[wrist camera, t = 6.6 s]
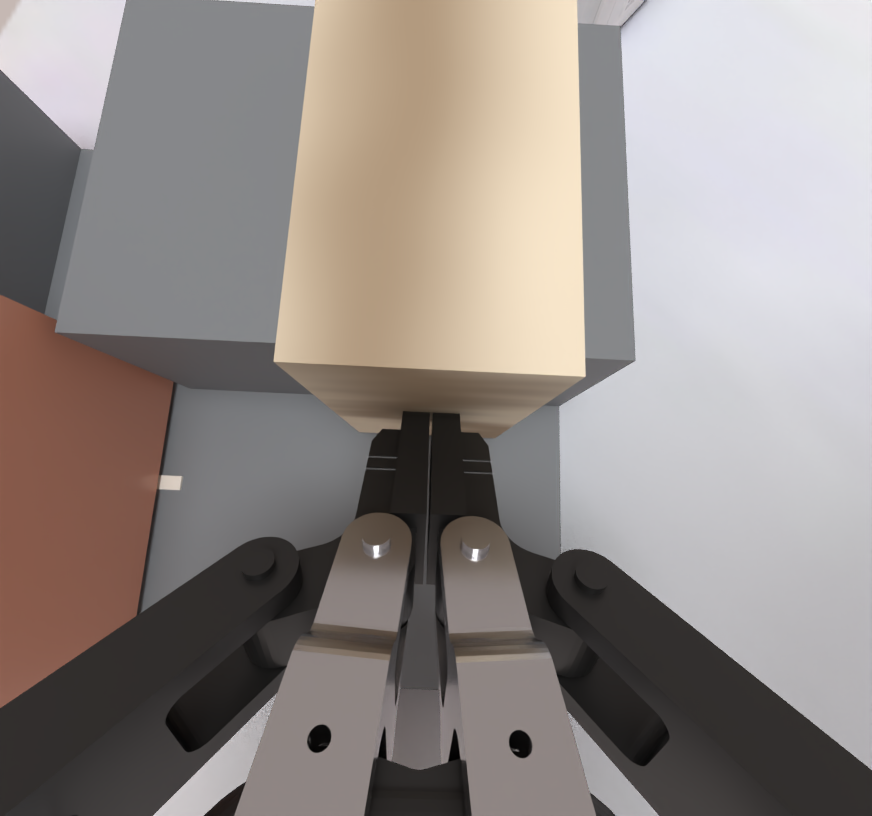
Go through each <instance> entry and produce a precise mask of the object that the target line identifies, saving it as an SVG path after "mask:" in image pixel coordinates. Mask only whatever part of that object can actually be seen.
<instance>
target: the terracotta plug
mask: <svg viewBox="0 0 872 816" xmlns="http://www.w3.org/2000/svg"><path fill="white" fill-rule="evenodd" d="M56 323H57V320H55V319H53V318H51V317H49V316H47V315H44V314H42V313H40V312H38V311H35V310H33V309H31V308H29V307H27V306H24V305H22V304H20V303H18V302H15V301H13V300H11V299H9V298H7V297H4V296H2V295H0V708H1V707H3V706H4V705H6V704H7V703H9V702H10V701H12V700H13V699H15V698H16V697H18V696H19V695H20V694H22V693H23V692H25V691H26V690H28V689H29V688H31V687H32V686H34V685H35V684H37V683H38V682H40V681H41V680H43V679H44V678H46V677H47V676H49V675H50V674H51V673H53V672H54V671H56V670H57V669H59V668H60V667H62V666H63V665H65V664H66V663H68V662H69V661H71V660H72V659H74V658H75V657H77V656H78V655H79V654H81V653H82V652H84V651H85V650H87V649H88V648H90V647H91V646H93V645H94V644H96V643H97V642H99V641H100V640H102V639H103V638H105V637H106V636H108V635H109V634H110V633H112V632H113V631H115V630H116V629H118V628H119V627H121V626H122V625H124V624H125V623H127V622H128V621H130V620H131V619H133V618H134V617H136V615H137V609H138V602H139V596H140V590H141V584H142V577H143V571H144V565H145V558H146V552H147V546H148V540H149V533H150V527H151V521H152V514H153V508H154V502H155V496H156V489H157V483H158V477H159V470H160V464H161V458H162V452H163V445H164V439H165V433H166V426H167V420H168V414H169V408H170V401H171V395H172V389H173V381H171V380H168V379H166V378H163V377H161V376H159V375H156V374H154V373H151V372H149V371H147V370H144V369H142V368H139V367H137V366H135V365H132V364H130V363H127V362H125V361H122V360H120V359H118V358H115V357H113V356H110V355H108V354H106V353H103V352H101V351H98V350H96V349H94V348H91V347H89V346H86V345H84V344H82V343H79V342H77V341H74V340H72V339H69V338H67V337H65V336H62V335H60V334H57V333H55V328H56Z"/></svg>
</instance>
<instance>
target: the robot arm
mask: <svg viewBox="0 0 872 816" xmlns="http://www.w3.org/2000/svg"><path fill="white" fill-rule="evenodd" d="M429 427H430V412H410V411H403V415H402V423H401V430H398V429H382V430H381V431H380V432H379V433H378V434H377V435H376V437H375V438H374V439H373V440H372V442H371V446H370V451H369V458H368V460H367V465H366V470H365V474H364V479H363V484H362V489H361V493H360V498H359V503H358V507H357V512H356V516H355V519H354V521H353V522H351V523H350V524H349V525H348V526H347V528H346V529H345V531H344V533H343V534H342V535H341V536H340V537H338V538H336V539H335V540H333V541H330V542H328V543H325V544H322V545H318V546H314V547H310V548H306V549H302V550H298V551H297V550H296V548H295V547H294V546H293V545H292V544H291V543H290V542H289V541H287V540H285V539H283V538H279V537H261V538H257V539H253V540H250V541H248V542H246V543H244V544H242V545H241V546H239V547H237V548H236V549H234V550H233V551H231V552H230V553H229V554H227V555H226V556H224V557H223V558H221V559H220V560H218V561H217V562H215V563H214V564H212V565H211V566H209V567H208V568H206V569H205V570H203V571H202V572H200V573H199V574H198V575H196V576H195V577H193V578H192V579H190V580H189V581H187V582H186V583H184V584H183V585H181V586H180V587H178V588H177V589H175V590H174V591H172V592H171V593H169V594H168V595H167V596H165V597H164V598H162V599H161V600H159V601H158V602H156V603H155V604H153V605H152V606H150V607H149V608H147V609H146V610H144V611H143V612H141V613H140V614H139V615H137V616H136V617H134V618H133V619H131V620H130V621H128V622H127V623H125V624H124V625H122V626H121V627H119V628H118V629H116V630H115V631H113V632H112V633H110V634H109V635H108V636H106V637H105V638H103V639H102V640H100V641H99V642H97V643H96V644H94V645H93V646H91V647H90V648H88V649H87V650H85V651H84V652H82V653H81V654H79V655H78V656H77V657H75V658H74V659H72V660H71V661H69V662H68V663H66V664H65V665H63V666H62V667H60V668H59V669H57V670H56V671H54V672H53V673H51V674H50V675H49V676H47V677H46V678H44V679H43V680H41V681H40V682H38V683H37V684H35V685H34V686H32V687H31V688H29V689H28V690H26V691H25V692H23V693H22V694H20V695H19V696H18V697H16V698H15V699H13V700H12V701H10V702H9V703H7V704H6V705H4V706H3V707H1V708H0V816H153V815H154V814H155V813H156V812H157V811H158V810H159V809H160V808H161V807H162V806H163V805H164V804H165V803H166V802H167V801H168V800H169V799H170V798H171V797H172V796H173V795H174V794H175V793H176V792H177V791H178V790H179V789H180V788H181V787H182V786H183V785H184V784H185V783H186V782H187V781H188V780H189V779H190V778H191V777H192V776H193V775H194V774H195V773H196V772H197V771H198V770H199V769H200V768H201V767H202V766H203V765H204V764H205V763H206V762H207V761H208V760H209V759H210V758H211V757H212V756H213V755H214V754H215V753H216V752H217V751H218V750H219V749H220V748H221V747H223V746H224V745H225V744H226V743H227V742H228V741H229V740H230V739H231V738H232V737H233V736H234V735H235V734H236V733H237V732H238V731H239V730H240V729H241V728H242V727H243V726H244V725H245V724H246V723H247V722H248V721H249V720H250V719H251V718H252V717H253V716H254V715H255V714H256V713H257V712H258V711H259V710H260V709H261V708H262V707H263V706H264V705H265V704H266V703H267V702H268V701H269V700H270V699H271V698H272V697H273V696H274V695H275V694H276V693H277V692H278V693H277V696H276V698H275V701H274V704H273V707H272V710H271V713H270V715H269V718H268V721H267V724H266V727H265V730H264V733H263V735H262V738H261V741H260V744H259V747H258V750H257V752H256V755H255V758H254V761H253V764H252V767H251V769H250V772H249V775H248V778H247V781H246V782H245V783H243V784H242V785H240V786H239V787H237V788H236V789H235V790H233V791H232V792H231V793H229V794H228V795H227V796H225V797H224V798H223V799H221V800H220V801H219V802H218V803H217V804H216V805H215V806H214V807H213V808H212V809H211V810H209V811H208V812H207V813H206V814H205V815H204V816H615V815H614V814H613V812H612V811H611V810H610V809H609V808H608V807H606V806H605V805H604V804H603V803H602V802H601V801H599V800H598V799H597V798H596V797H595V796H594V795H592V794H591V793H590V792H589V788H588V785H587V781H586V778H585V774H584V770H583V767H582V763H581V760H580V756H579V753H578V749H577V745H576V742H575V738H574V735H573V731H572V728H571V724H570V720H569V717H568V713H567V711H568V712H569V713H570V714H571V715H572V716H573V717H574V719H575V720H576V721H577V722H578V723H579V724H580V725H581V727H582V728H583V729H584V730H585V731H586V732H587V733H588V735H589V736H590V737H591V738H592V739H593V740H594V741H595V743H596V744H597V745H598V746H599V747H600V748H601V749H602V751H603V752H604V753H605V754H606V755H607V756H608V757H609V759H610V760H611V761H612V762H613V763H614V764H615V765H616V767H617V768H618V769H619V770H620V771H621V772H622V773H623V775H624V776H625V777H626V778H627V779H628V780H629V781H630V783H631V784H632V785H633V786H634V787H635V788H636V789H637V791H638V792H639V793H640V794H641V795H642V796H643V797H644V799H645V800H646V801H647V802H648V803H649V804H650V805H651V807H652V808H653V809H654V810H655V811H656V812H657V813H658V815H659V816H872V770H871V769H869V768H868V767H867V766H866V765H864V764H863V763H862V762H861V761H859V760H858V759H857V758H856V757H854V756H853V755H852V754H851V753H849V752H848V751H847V750H846V749H844V748H843V747H842V746H841V745H839V744H838V743H837V742H836V741H834V740H833V739H832V738H831V737H829V736H828V735H827V734H826V733H824V732H823V731H822V730H821V729H819V728H818V727H817V726H816V725H814V724H813V723H812V722H811V721H809V720H808V719H807V718H806V717H804V716H803V715H802V714H801V713H799V712H798V711H797V710H796V709H794V708H793V707H792V706H791V705H789V704H788V703H787V702H786V701H784V700H783V699H782V698H781V697H779V696H778V695H777V694H776V693H774V692H773V691H772V690H771V689H769V688H768V687H767V686H766V685H764V684H763V683H762V682H761V681H759V680H758V679H757V678H756V677H754V676H753V675H752V674H751V673H749V672H748V671H747V670H746V669H744V668H743V667H742V666H741V665H739V664H738V663H737V662H736V661H734V660H733V659H732V658H731V657H729V656H728V655H727V654H726V653H724V652H723V651H722V650H721V649H719V648H718V647H717V646H716V645H714V644H713V643H712V642H711V641H709V640H708V639H707V638H706V637H704V636H703V635H702V634H701V633H699V632H698V631H697V630H696V629H694V628H693V627H692V626H691V625H689V624H688V623H687V622H686V621H684V620H683V619H682V618H681V617H679V616H678V615H677V614H676V613H674V612H673V611H672V610H671V609H670V608H668V607H667V606H666V605H665V604H663V603H662V602H661V601H660V600H658V599H657V598H656V597H655V596H653V595H652V594H651V593H650V592H648V591H647V590H646V589H645V588H643V587H642V586H641V585H640V584H638V583H637V582H636V581H635V580H633V579H632V578H631V577H630V576H628V575H627V574H626V573H625V572H623V571H622V570H621V569H620V568H618V567H617V566H616V565H615V564H613V563H612V562H611V561H609V560H608V559H606V558H605V557H603V556H601V555H599V554H597V553H595V552H592V551H588V550H581V549H574V550H569V551H566V552H564V553H562V554H560V555H559V556H558V557H557V558H556V560H554V559H551V558H548V557H544V556H541V555H538V554H535V553H532V552H530V551H527V550H525V549H523V548H521V547H520V546H518V545H517V544H515V543H514V542H513V541H512V540H511V539H510V538H509V537H508V536H507V535H506V533H505V532H504V530H503V528H502V526H501V523H500V519H499V513H498V506H497V499H496V493H495V486H494V479H493V475H492V466H491V463H490V461H491V460H490V453H489V446H488V445H487V443H486V442H485V441H484V439H483V438H482V437H481V435H480V434H479V433H471V432H461V424H460V414H455V413H433V415H432V433H431V451H430V473H429V506H428V541H427V575H426V584H430V585H435V612H434V627H435V643H436V658H437V673H438V689H439V704H440V754H441V765H438V766H434V767H431V768H428V769H424V770H414V769H411V768H408V767H405V766H402V765H400V764H397V763H394V762H392V758H393V749H394V740H395V728H396V717H397V709H398V701H399V694H400V686H401V679H402V672H403V664H404V657H405V650H406V643H407V635H408V628H409V621H410V615H411V612H412V609H413V598H414V584H423V573H424V554H425V535H426V516H427V487H428V457H429ZM566 709H567V710H566Z"/></svg>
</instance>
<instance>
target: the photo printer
mask: <svg viewBox="0 0 872 816" xmlns="http://www.w3.org/2000/svg"><path fill="white" fill-rule="evenodd" d="M644 1H645V0H577V18H578V23H582V24H598V25H614V26H620V27H621V26H622V25H623V23H624V22H625V21H626V20H627V19H628V18H629V17H630V16H631V15H632V14H633V13H634V12H635V11H636V10H637V8H638V7H639V6H640V5H641V4H642V3H643V2H644Z"/></svg>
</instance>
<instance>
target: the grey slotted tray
mask: <svg viewBox="0 0 872 816" xmlns="http://www.w3.org/2000/svg"><path fill="white" fill-rule="evenodd" d="M314 8H315V7H313V6H297V5H281V4H265V3H250V2H234V1H218V0H126V4H125V9H124V13H123V18H122V23H121V27H120V32H119V37H118V41H117V46H116V50H115V55H114V60H113V64H112V69H111V74H110V78H109V83H108V87H107V92H106V97H105V101H104V106H103V111H102V115H101V120H100V124H99V129H98V134H97V138H96V143H95V148H94V150H89V149H81V148H80V147H79V146H78V145H77V144H76V143H74V142H73V141H72V140H71V139H70V138H69V137H68V136H67V135H66V134H65V133H64V132H63V131H62V130H61V129H60V128H59V127H58V126H57V125H56V124H55V123H54V122H53V121H52V120H51V119H50V118H49V117H48V116H47V115H46V114H45V113H44V112H43V111H42V110H41V109H40V108H39V107H38V106H37V105H36V104H35V103H34V102H33V101H32V100H31V99H30V98H29V97H28V96H27V95H26V94H25V93H24V92H22V91H21V90H20V89H19V88H18V87H17V86H16V85H15V84H14V83H13V82H12V81H11V80H10V79H9V78H8V77H7V76H6V75H5V74H4V73H3V72H2V71H1V70H0V295H2V296H4V297H7V298H9V299H11V300H13V301H15V302H18V303H20V304H22V305H24V306H27V307H29V308H31V309H33V310H35V311H38V312H40V313H42V314H44V315H47V316H49V317H51V318H53V319H55V320H57V323H56V328H55V333H57V334H60V335H62V336H65V337H67V338H69V339H72V340H74V341H77V342H79V343H82V344H84V345H86V346H89V347H91V348H94V349H96V350H98V351H101V352H103V353H106V354H108V355H110V356H113V357H115V358H118V359H120V360H122V361H125V362H127V363H130V364H132V365H135V366H137V367H139V368H142V369H144V370H147V371H149V372H151V373H154V374H156V375H159V376H161V377H163V378H166V379H168V380H171V381H173V389H172V395H171V401H170V408H169V414H168V420H167V426H166V433H165V439H164V445H163V452H162V458H161V464H160V470H159V477H158V483H157V489H156V496H155V502H154V508H153V514H152V521H151V527H150V533H149V540H148V546H147V552H146V558H145V565H144V571H143V577H142V584H141V590H140V596H139V602H138V609H137V615H139V614H140V613H141V612H143V611H144V610H146V609H147V608H149V607H150V606H152V605H153V604H155V603H156V602H158V601H159V600H161V599H162V598H164V597H165V596H167V595H168V594H169V593H171V592H172V591H174V590H175V589H177V588H178V587H180V586H181V585H183V584H184V583H186V582H187V581H189V580H190V579H192V578H193V577H195V576H196V575H198V574H199V573H200V572H202V571H203V570H205V569H206V568H208V567H209V566H211V565H212V564H214V563H215V562H217V561H218V560H220V559H221V558H223V557H224V556H226V555H227V554H229V553H230V552H231V551H233V550H234V549H236V548H237V547H239V546H241V545H242V544H244V543H246V542H248V541H250V540H253V539H257V538H261V537H279V538H283V539H285V540H287V541H289V542H290V543H291V544H292V545H293V546H294V547H295V548H296V550H297V551H298V550H302V549H306V548H310V547H314V546H318V545H322V544H325V543H328V542H330V541H333V540H335V539H336V538H338V537H340V536H341V535H342V534H343V533H344V531H345V529H346V528H347V526H348V525H349V524H350V523H351V522H353V521H354V519H355V516H356V512H357V507H358V503H359V498H360V493H361V489H362V484H363V479H364V474H365V470H366V465H367V460H368V458H369V451H370V446H371V442H372V440H373V439H374V438H375V437H376V435H377V434H378V433H365V432H358V431H357V430H356V429H355V428H354V427H352V426H351V425H350V424H349V423H347V422H346V421H345V420H344V419H343V418H341V417H340V416H339V415H338V414H336V413H335V412H334V411H333V410H332V409H330V408H329V407H328V406H327V405H325V404H324V403H323V402H322V401H321V400H319V399H318V398H317V397H316V396H315V395H313V394H312V393H311V392H310V391H308V390H307V389H306V388H305V387H304V386H302V385H301V384H300V383H299V382H297V381H296V380H295V379H294V378H293V377H291V376H290V375H289V374H288V373H286V372H285V371H284V370H283V369H282V368H280V367H279V366H278V365H277V364H276V363H274V362H273V361H274V353H275V344H276V335H277V327H278V318H279V309H280V301H281V292H282V284H283V275H284V266H285V258H286V249H287V241H288V232H289V223H290V215H291V206H292V197H293V189H294V180H295V172H296V163H297V154H298V146H299V137H300V129H301V120H302V111H303V103H304V94H305V86H306V77H307V68H308V60H309V51H310V42H311V34H312V25H313V17H314ZM578 63H579V107H580V151H581V195H582V239H583V283H584V327H585V371H586V377H584V378H583V379H582V380H580V381H579V382H577V383H576V384H574V385H573V386H571V387H570V388H568V389H567V390H565V391H564V392H562V393H561V394H559V395H558V396H556V397H555V398H554V399H552V400H551V401H549V402H548V403H546V404H545V405H543V406H542V407H540V408H539V409H537V410H536V411H534V412H533V413H531V414H530V415H528V416H527V417H526V418H524V419H523V420H521V421H520V422H518V423H517V424H515V425H514V426H512V427H511V428H509V429H508V430H506V431H505V432H503V433H502V434H500V435H499V436H497V437H496V438H483V439H484V441H485V442H486V443H487V445H488V446H489V453H490V460H491V461H490V463H491V466H492V475H493V479H494V486H495V493H496V499H497V506H498V513H499V519H500V523H501V526H502V528H503V530H504V532H505V533H506V535H507V536H508V537H509V538H510V539H511V540H512V541H513V542H514V543H515V544H517V545H518V546H520V547H521V548H523V549H525V550H527V551H530V552H532V553H535V554H538V555H541V556H544V557H548V558H551V559H554V560H556V558H557V557H558V556H559V555H560V554H561V543H560V451H559V406H560V405H562V404H563V403H565V402H567V401H568V400H570V399H572V398H573V397H575V396H577V395H578V394H580V393H582V392H583V391H585V390H587V389H588V388H590V387H592V386H594V385H595V384H597V383H599V382H600V381H602V380H604V379H605V378H607V377H609V376H610V375H612V374H614V373H615V372H617V371H619V370H620V369H622V368H624V367H625V366H627V365H629V364H631V363H632V362H634V361H635V340H634V318H633V295H632V273H631V251H630V229H629V207H628V184H627V162H626V140H625V118H624V96H623V73H622V51H621V29H620V26H614V25H598V24H582V23H578ZM430 451H431V435H429V457H428V487H427V516H426V535H425V554H424V573H423V584H414V598H413V609H412V612H411V615H410V621H409V628H408V635H407V643H406V650H405V657H404V664H403V672H402V679H401V686H400V688H404V689H433V690H439V689H438V673H437V658H436V643H435V627H434V612H435V585H430V584H426V575H427V541H428V506H429V473H430ZM137 615H136V616H137Z"/></svg>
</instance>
